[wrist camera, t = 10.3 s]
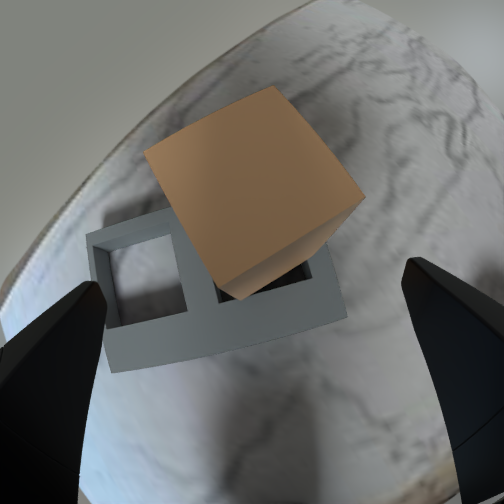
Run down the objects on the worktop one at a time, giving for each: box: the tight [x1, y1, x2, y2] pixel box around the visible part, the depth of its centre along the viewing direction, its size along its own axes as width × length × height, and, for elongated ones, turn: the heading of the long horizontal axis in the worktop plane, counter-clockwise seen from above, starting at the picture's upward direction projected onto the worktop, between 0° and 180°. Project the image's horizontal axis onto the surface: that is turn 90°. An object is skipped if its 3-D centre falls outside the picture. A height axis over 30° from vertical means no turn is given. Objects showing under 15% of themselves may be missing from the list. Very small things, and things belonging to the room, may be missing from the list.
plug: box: [143, 85, 365, 301], centre depth 15 cm, size 5×5×13 cm
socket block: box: [86, 206, 348, 373], centre depth 20 cm, size 10×16×2 cm, turn 105°
